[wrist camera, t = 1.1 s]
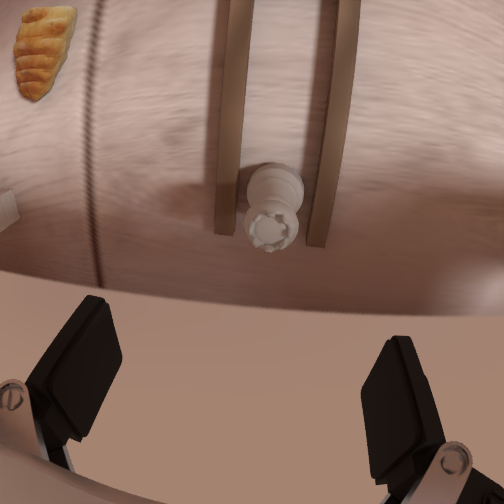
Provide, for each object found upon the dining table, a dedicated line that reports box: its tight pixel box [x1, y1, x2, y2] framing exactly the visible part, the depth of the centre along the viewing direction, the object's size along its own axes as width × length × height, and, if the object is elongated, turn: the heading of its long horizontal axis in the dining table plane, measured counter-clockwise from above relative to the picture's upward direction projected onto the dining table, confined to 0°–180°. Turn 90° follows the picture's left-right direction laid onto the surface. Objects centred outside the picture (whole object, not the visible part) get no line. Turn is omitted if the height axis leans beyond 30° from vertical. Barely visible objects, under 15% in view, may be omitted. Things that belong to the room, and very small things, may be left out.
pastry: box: [13, 6, 77, 100], centre depth 18 cm, size 9×7×4 cm
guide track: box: [214, 0, 361, 248], centre depth 20 cm, size 9×24×1 cm, turn 175°
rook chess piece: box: [243, 163, 304, 253], centre depth 21 cm, size 4×4×8 cm
